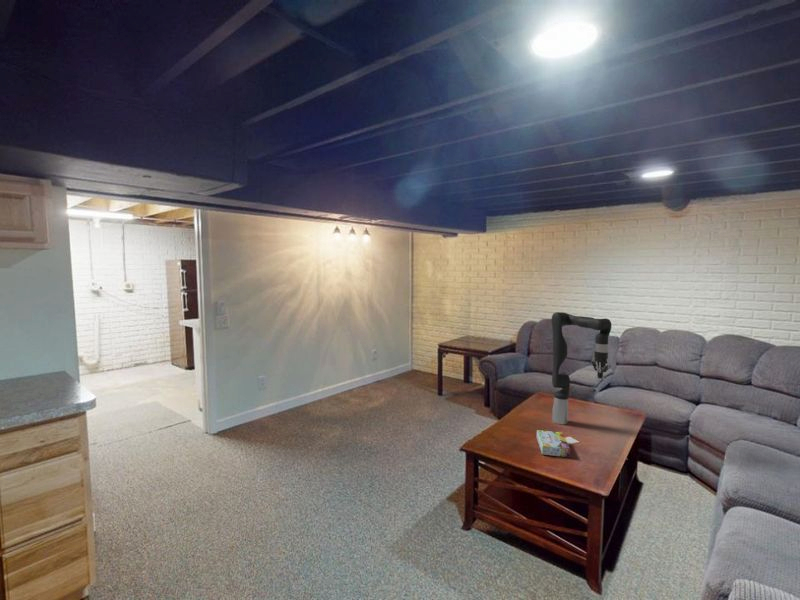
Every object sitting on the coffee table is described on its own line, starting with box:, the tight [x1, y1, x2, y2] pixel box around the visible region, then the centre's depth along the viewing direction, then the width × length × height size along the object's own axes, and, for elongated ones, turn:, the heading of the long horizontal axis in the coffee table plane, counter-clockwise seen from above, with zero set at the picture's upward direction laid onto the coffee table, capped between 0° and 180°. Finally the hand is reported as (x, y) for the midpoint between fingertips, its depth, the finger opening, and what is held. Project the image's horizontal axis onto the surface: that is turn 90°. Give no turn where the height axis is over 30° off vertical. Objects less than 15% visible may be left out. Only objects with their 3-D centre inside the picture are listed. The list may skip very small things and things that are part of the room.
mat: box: [564, 436, 581, 446], centre depth 240 cm, size 8×24×1 cm, turn 110°
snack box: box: [536, 429, 571, 458], centre depth 232 cm, size 21×6×15 cm
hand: (600, 378), depth 247 cm, fingers closed
